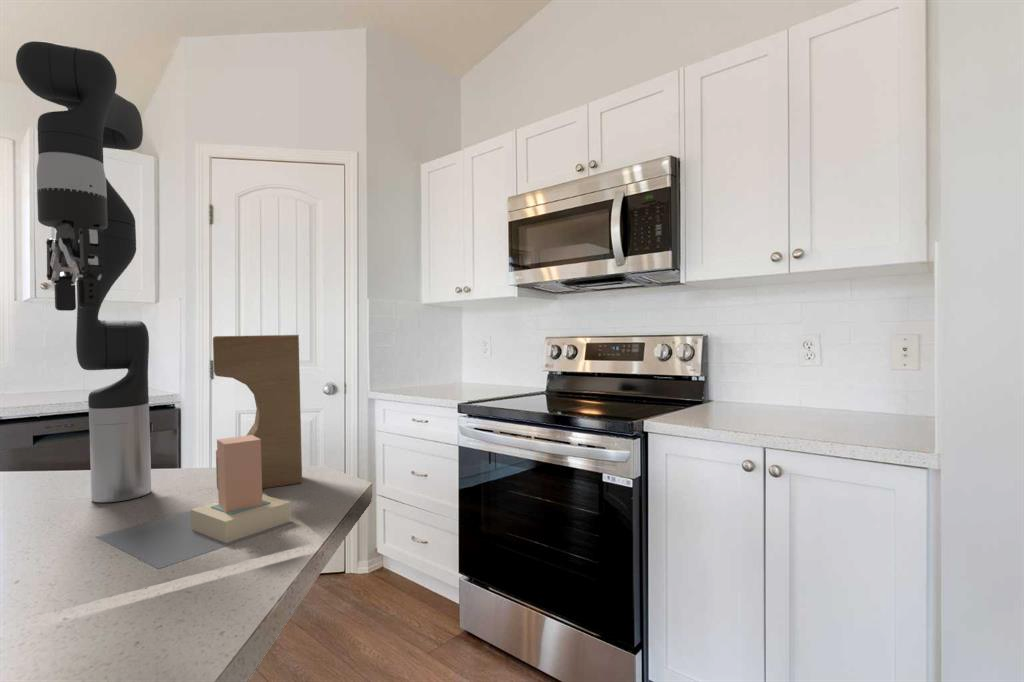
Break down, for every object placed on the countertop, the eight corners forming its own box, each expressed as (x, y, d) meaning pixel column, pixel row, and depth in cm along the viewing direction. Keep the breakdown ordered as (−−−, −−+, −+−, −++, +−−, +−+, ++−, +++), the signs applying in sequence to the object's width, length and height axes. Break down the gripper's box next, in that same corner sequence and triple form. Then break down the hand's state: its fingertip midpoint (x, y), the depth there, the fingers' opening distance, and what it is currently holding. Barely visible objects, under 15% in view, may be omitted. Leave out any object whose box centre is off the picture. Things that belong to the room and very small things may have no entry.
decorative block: (217, 495, 101) (213, 336, 100) (216, 486, 107) (212, 336, 107) (302, 483, 108) (298, 334, 108) (296, 475, 115) (293, 334, 114)
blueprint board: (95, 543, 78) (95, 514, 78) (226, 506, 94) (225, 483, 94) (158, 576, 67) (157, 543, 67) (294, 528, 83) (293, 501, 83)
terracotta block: (226, 512, 78) (224, 444, 78) (218, 504, 82) (216, 439, 82) (262, 504, 82) (260, 439, 81) (253, 497, 86) (252, 434, 85)
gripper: (125, 190, 74) (129, 308, 74) (86, 205, 82) (89, 311, 82) (56, 177, 68) (61, 306, 68) (21, 195, 76) (25, 310, 76)
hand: (76, 309), depth 75 cm, fingers open, 8 cm apart
